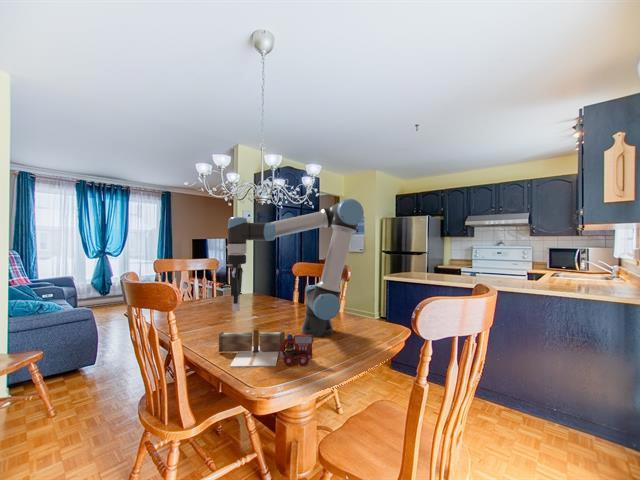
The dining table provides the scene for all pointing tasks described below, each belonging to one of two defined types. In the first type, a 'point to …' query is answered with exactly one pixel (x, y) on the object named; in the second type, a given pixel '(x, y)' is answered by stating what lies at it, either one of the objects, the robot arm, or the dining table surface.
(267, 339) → the fence fixed section
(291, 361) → the toy fire truck
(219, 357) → the dining table surface
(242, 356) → the card
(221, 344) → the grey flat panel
